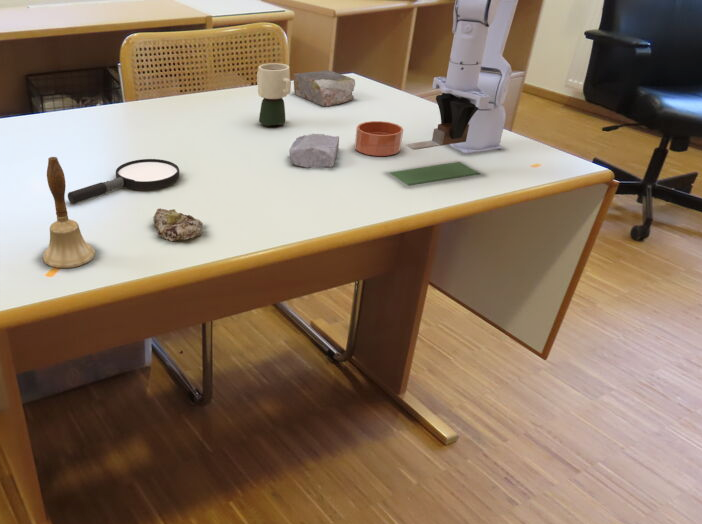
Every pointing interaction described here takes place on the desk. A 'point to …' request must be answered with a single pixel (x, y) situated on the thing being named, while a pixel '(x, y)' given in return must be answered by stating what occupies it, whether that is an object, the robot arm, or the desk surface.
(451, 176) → the green flat rectangular slab
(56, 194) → the hand bell
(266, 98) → the character mug
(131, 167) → the magnifying glass
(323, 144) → the stone block
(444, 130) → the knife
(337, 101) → the geological specimen
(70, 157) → the desk surface
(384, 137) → the bowl
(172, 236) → the mineral rock
